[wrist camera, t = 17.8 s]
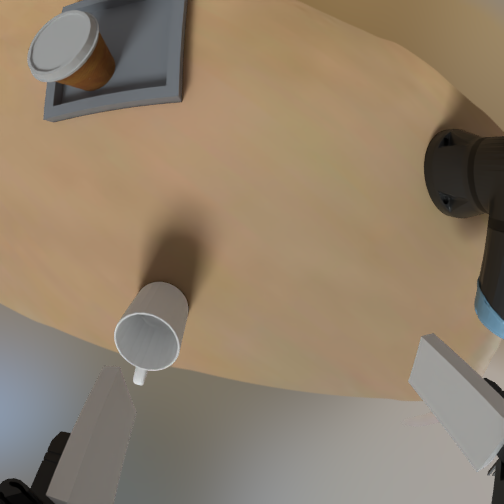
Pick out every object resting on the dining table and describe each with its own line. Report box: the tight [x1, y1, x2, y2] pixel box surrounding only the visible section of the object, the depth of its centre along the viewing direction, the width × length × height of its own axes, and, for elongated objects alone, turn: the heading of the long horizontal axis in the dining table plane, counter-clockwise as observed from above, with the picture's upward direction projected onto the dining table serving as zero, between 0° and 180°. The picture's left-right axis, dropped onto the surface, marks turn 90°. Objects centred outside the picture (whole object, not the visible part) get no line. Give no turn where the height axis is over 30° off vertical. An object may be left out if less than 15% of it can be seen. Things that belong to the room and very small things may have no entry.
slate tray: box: [43, 0, 188, 122], centre depth 30 cm, size 20×20×3 cm
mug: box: [114, 282, 189, 385], centre depth 37 cm, size 12×8×10 cm, turn 159°
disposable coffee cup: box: [28, 10, 115, 91], centre depth 26 cm, size 10×10×12 cm
